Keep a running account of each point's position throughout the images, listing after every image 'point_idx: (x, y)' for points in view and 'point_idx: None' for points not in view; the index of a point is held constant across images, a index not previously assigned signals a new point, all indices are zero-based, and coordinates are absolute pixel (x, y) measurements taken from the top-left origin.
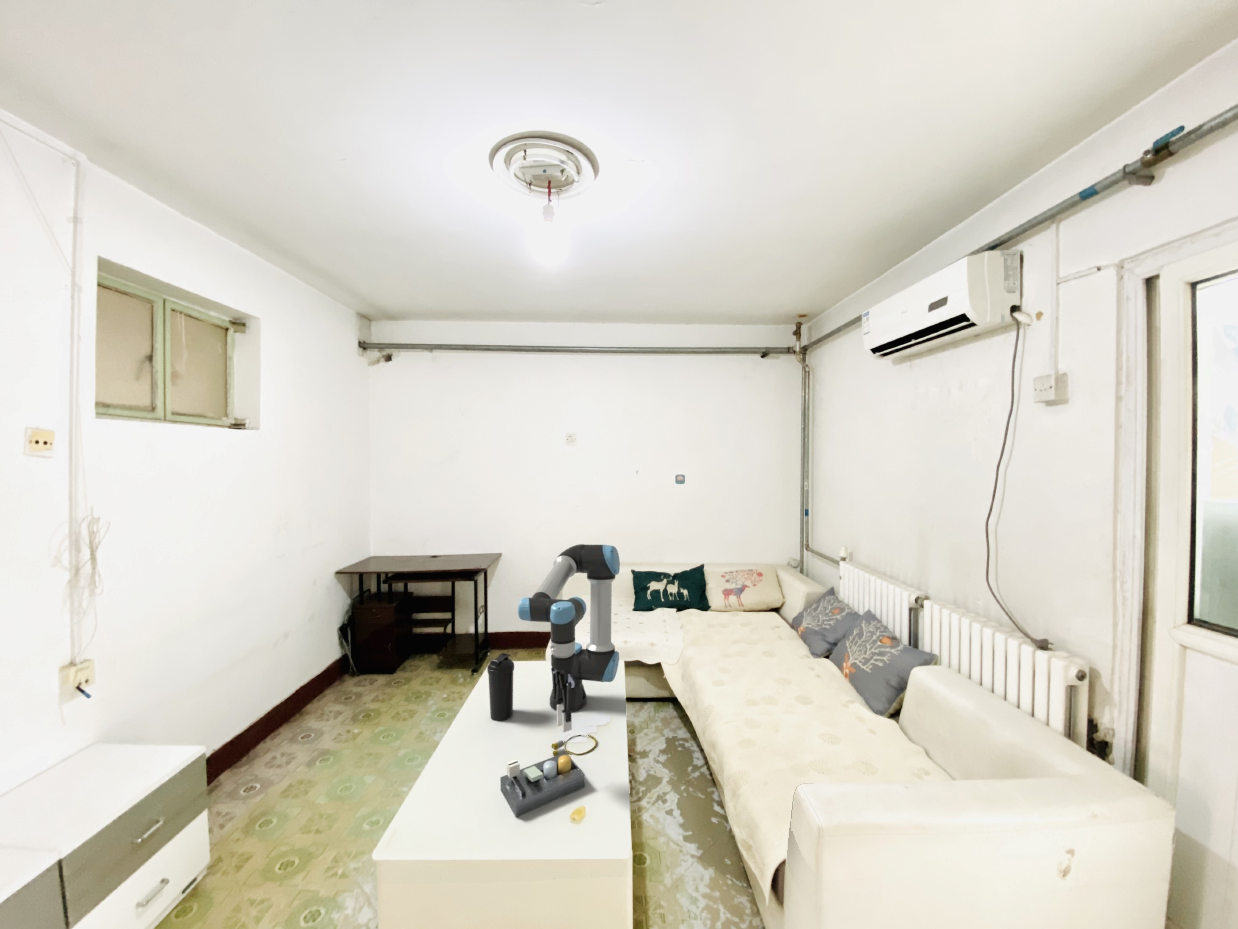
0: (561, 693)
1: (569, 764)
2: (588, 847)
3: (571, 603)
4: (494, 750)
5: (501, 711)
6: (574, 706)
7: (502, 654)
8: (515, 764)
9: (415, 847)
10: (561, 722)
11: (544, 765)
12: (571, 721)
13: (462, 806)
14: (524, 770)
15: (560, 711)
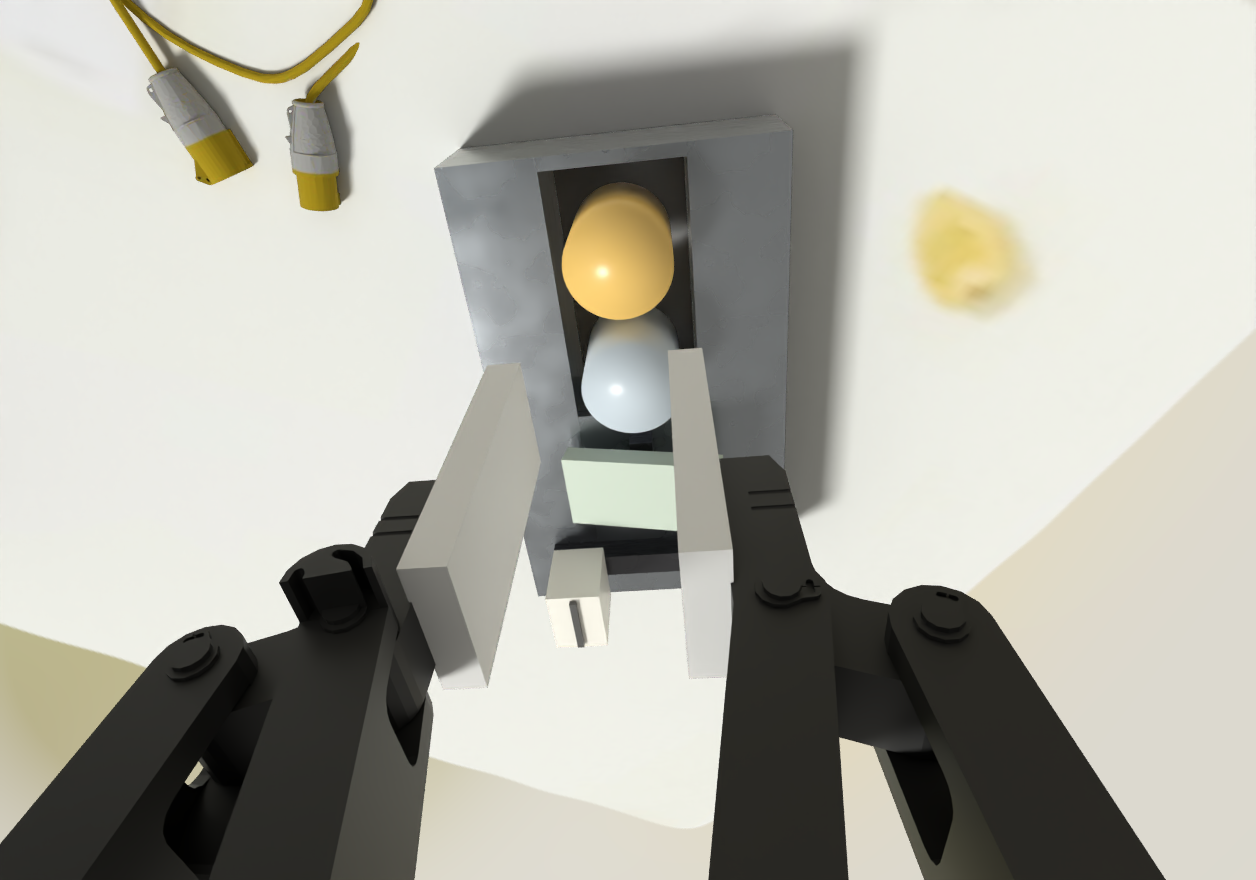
0: (378, 875)
1: (668, 235)
2: (1217, 299)
3: None
4: (189, 506)
5: None
6: (1031, 705)
7: None
8: (594, 615)
9: (706, 784)
10: (527, 441)
11: (620, 425)
12: (710, 408)
13: (580, 672)
14: (582, 520)
15: (498, 561)
